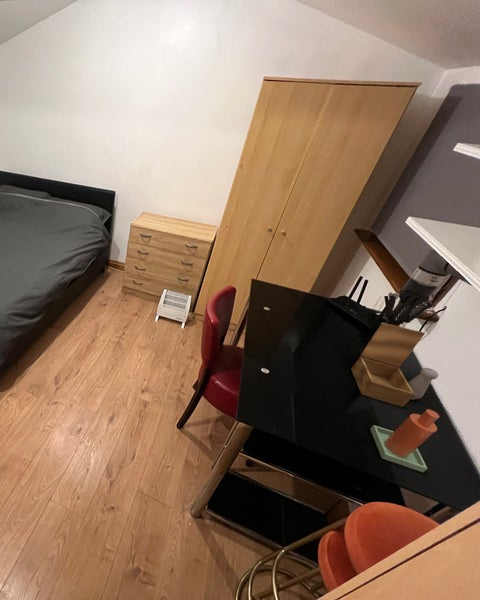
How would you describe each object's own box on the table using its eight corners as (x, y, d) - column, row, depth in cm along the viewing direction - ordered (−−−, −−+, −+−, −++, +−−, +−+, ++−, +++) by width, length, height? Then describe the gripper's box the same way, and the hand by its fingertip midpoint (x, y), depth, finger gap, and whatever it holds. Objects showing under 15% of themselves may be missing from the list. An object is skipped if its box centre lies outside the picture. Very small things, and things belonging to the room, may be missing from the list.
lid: (425, 333, 114) (423, 332, 115) (382, 323, 118) (382, 322, 119) (400, 366, 122) (399, 365, 123) (361, 356, 126) (360, 355, 126)
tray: (423, 472, 94) (427, 468, 93) (381, 458, 97) (385, 454, 96) (407, 441, 103) (411, 437, 102) (370, 428, 106) (373, 424, 105)
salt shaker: (401, 387, 123) (424, 362, 116) (420, 397, 119) (445, 373, 112) (396, 393, 120) (418, 368, 113) (415, 404, 116) (439, 379, 109)
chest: (402, 407, 115) (415, 394, 111) (361, 394, 118) (372, 382, 115) (388, 379, 126) (398, 367, 122) (350, 368, 130) (360, 356, 126)
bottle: (411, 460, 97) (451, 426, 87) (387, 452, 98) (424, 417, 89) (403, 444, 101) (440, 409, 92) (381, 436, 103) (415, 401, 94)
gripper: (405, 281, 112) (367, 334, 125) (452, 291, 108) (408, 344, 121) (397, 272, 118) (362, 323, 131) (441, 281, 114) (400, 333, 127)
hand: (384, 333), depth 126 cm, fingers closed
